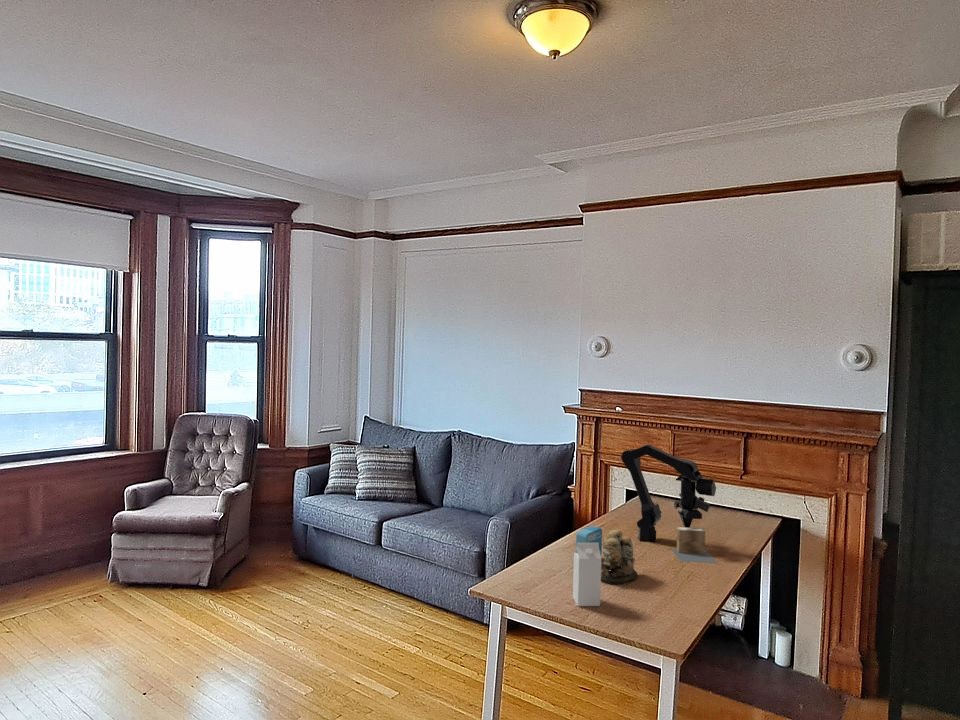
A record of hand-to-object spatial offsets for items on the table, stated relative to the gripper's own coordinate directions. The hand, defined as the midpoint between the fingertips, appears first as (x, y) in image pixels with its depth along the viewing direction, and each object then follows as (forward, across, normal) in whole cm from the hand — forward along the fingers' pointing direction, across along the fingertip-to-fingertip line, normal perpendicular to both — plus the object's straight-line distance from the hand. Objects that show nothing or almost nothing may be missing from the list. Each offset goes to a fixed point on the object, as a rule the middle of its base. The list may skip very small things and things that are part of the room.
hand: (687, 530), depth 261 cm
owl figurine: (+8, -35, +34) cm, 50 cm away
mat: (+8, -10, 0) cm, 13 cm away
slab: (+7, -6, 0) cm, 9 cm away
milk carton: (+8, -58, +48) cm, 76 cm away
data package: (+8, -18, +42) cm, 47 cm away
